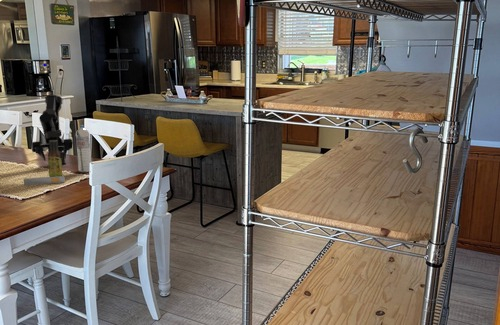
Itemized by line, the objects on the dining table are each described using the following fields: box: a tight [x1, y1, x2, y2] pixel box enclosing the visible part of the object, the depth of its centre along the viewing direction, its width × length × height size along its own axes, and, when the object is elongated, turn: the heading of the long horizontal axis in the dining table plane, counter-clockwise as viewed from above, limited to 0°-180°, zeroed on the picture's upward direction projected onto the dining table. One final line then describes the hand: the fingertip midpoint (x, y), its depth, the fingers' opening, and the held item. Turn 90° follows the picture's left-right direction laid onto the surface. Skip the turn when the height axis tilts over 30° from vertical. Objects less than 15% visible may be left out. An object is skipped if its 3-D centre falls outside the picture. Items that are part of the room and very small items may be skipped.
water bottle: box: [75, 124, 92, 173], centre depth 236 cm, size 7×7×25 cm
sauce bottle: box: [47, 140, 63, 177], centre depth 221 cm, size 6×6×20 cm
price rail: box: [23, 175, 66, 186], centre depth 215 cm, size 18×1×3 cm, turn 108°
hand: (55, 159), depth 220 cm, fingers open, 9 cm apart
